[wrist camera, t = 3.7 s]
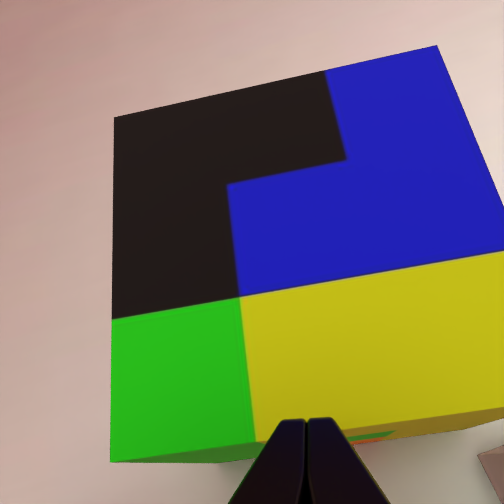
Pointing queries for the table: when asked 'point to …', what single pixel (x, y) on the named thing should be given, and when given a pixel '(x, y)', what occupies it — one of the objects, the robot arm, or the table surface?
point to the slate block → (494, 469)
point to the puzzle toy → (304, 264)
